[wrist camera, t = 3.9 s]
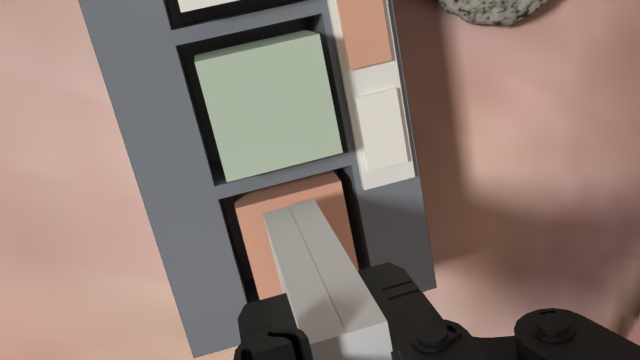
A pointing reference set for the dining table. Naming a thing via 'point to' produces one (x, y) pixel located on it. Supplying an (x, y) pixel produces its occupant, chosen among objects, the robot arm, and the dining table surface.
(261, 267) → the key
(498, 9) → the rock sample
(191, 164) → the keypad
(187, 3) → the key
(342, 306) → the robot arm
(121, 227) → the dining table surface
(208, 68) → the key
